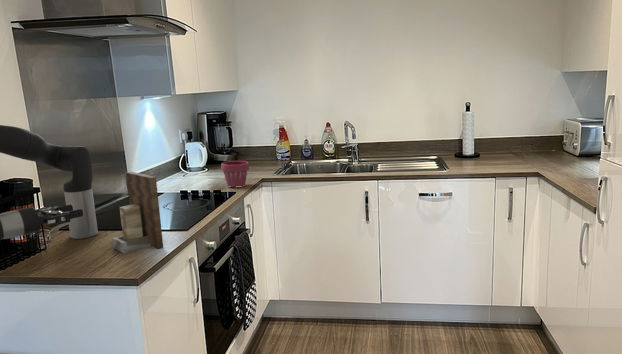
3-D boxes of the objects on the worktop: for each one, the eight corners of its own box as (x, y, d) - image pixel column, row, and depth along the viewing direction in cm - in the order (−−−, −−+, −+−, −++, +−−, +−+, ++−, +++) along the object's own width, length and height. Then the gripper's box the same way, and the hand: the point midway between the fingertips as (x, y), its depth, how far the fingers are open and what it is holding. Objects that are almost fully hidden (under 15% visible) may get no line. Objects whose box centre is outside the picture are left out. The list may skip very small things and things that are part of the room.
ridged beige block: (124, 247, 161) (119, 207, 158) (140, 243, 165) (135, 203, 162) (129, 249, 158) (124, 209, 155) (145, 245, 162) (141, 205, 159)
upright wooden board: (107, 245, 164) (98, 176, 159) (138, 237, 172) (131, 171, 167) (130, 256, 151) (122, 182, 147) (163, 247, 159) (155, 176, 154)
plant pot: (254, 184, 256) (253, 160, 254) (242, 189, 244) (240, 165, 241) (231, 183, 261) (229, 160, 259) (217, 188, 249) (215, 164, 246)
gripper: (23, 214, 130) (84, 201, 141) (9, 206, 140) (67, 194, 151) (28, 240, 132) (88, 225, 143) (13, 230, 141) (70, 217, 153)
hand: (77, 210), depth 147 cm, fingers open, 8 cm apart
